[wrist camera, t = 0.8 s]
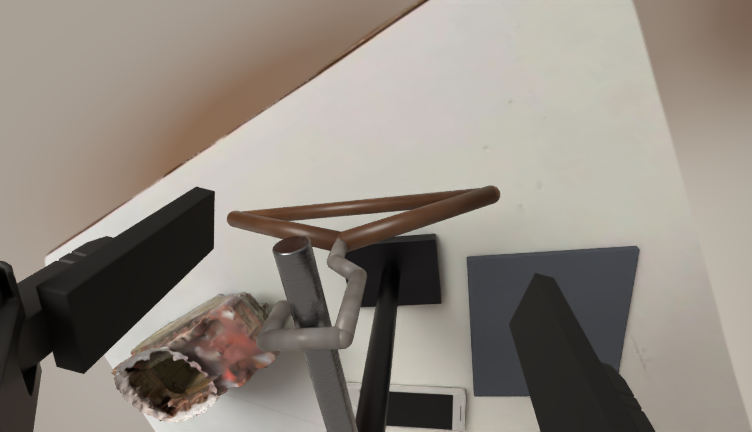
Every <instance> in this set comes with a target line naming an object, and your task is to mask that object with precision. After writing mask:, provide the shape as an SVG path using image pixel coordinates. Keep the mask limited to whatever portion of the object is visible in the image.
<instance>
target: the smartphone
mask: <svg viewBox="0 0 752 432" xmlns="http://www.w3.org/2000/svg"><path fill="white" fill-rule="evenodd" d="M346 385H347V389H348V393H349V397H350V401H351V405H352V409H353V413H354V417H355V418H356V413H357V407H358V402H359V396H360V391H361V385H362V383H346ZM465 405H466V392H465V389H461V388H444V387H424V386H405V385H390V388H389V399H388V409H387V419H386V427H398V428H413V429H428V430H443V431H458V432H461V431H464V424H465Z"/></svg>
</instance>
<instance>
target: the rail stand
mask: <svg viewBox="0 0 752 432" xmlns="http://www.w3.org/2000/svg"><path fill="white" fill-rule="evenodd" d="M273 254H274V258H275V261H276V264H277V268H278V271H279V274H280V277H281V281H282V284H283V287H284V291H285V294H286V297H287V301H288V304H289V307H290V310H291V314H292V317H293V320H294V324H295V327H296V328H317V327H332V325H331V321H330V317H329V313H328V309H327V305H326V301H325V297H324V293H323V289H322V285H321V281H320V277H319V273H318V269H317V265H316V261H315V257H314V253H313V249H312V245H311V241H310V239H309V238H308V237H305V236H293V237H289V238H286V239H283V240H281V241H279V242H278V243H276V244H275V245H274V247H273ZM344 258H345V259H347V260H348V261H350V262H352V263H354V264H355V265H357V266H359V267H360V268H362V269H364V270H365V271H366V273H367V280H366V284H365V289H364V293H363V298H362V302H361V307H376V308H375V314H374V319H373V325H372V330H371V336H370V341H369V347H368V352H367V358H366V363H365V369H364V374H363V380H362V385H361V391H360V396H359V402H358V407H357V413H356V418H355V417H354V413H353V409H352V405H351V401H350V397H349V393H348V389H347V385H346V381H345V377H344V373H343V369H342V365H341V361H340V357H339V353H338V349H331V350H303V353H304V357H305V360H306V363H307V367H308V370H309V373H310V377H311V380H312V383H313V386H314V390H315V393H316V396H317V400H318V403H319V406H320V410H321V413H322V416H323V420H324V423H325V426H326V429H327V432H385V429H386V419H387V409H388V399H389V388H390V378H391V368H392V358H393V348H394V337H395V327H396V317H397V307H398V306H399V305H422V304H441V303H442V302H441V290H440V279H439V268H438V257H437V246H436V235H435V234H424V235H411V236H398V237H392V238H389V239H386V240H383V241H380V242H377V243H374V244H371V245H368V246H365V247H362V248H359V249H356V250H353V251H350V252H347V253H346V254H345V257H344ZM348 281H349V280H348V279H346V282H347V284H348Z"/></svg>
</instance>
